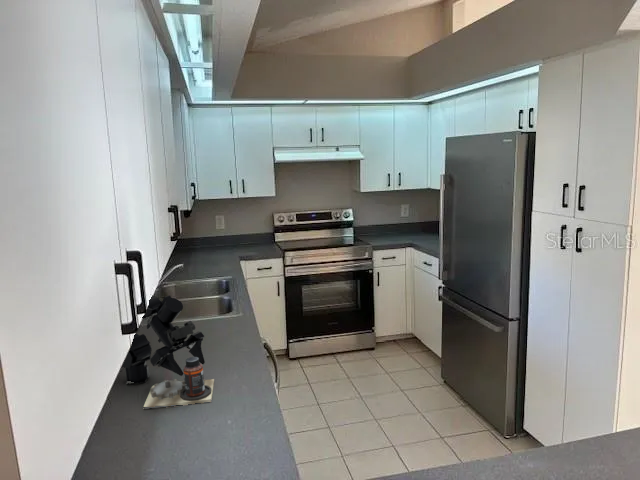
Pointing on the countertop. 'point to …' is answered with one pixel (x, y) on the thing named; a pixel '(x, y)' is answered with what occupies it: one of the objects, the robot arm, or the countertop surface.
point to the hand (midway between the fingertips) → (193, 369)
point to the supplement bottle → (194, 377)
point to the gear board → (177, 398)
